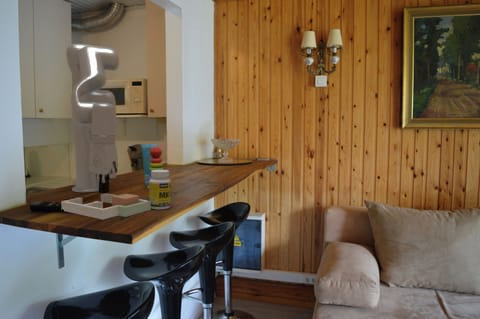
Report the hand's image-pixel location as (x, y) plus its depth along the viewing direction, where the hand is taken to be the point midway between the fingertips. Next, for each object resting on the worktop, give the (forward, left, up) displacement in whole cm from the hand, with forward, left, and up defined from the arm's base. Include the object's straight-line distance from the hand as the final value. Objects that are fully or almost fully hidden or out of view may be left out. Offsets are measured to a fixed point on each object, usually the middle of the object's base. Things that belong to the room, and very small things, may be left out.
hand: (104, 192), depth 126 cm
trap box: (+5, -4, -5) cm, 8 cm away
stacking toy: (-7, +33, -5) cm, 34 cm away
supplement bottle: (+17, +9, -5) cm, 20 cm away
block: (+11, 0, -5) cm, 12 cm away
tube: (-17, +39, -5) cm, 43 cm away
